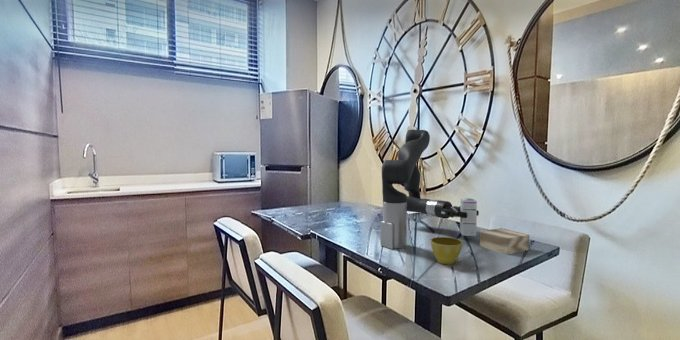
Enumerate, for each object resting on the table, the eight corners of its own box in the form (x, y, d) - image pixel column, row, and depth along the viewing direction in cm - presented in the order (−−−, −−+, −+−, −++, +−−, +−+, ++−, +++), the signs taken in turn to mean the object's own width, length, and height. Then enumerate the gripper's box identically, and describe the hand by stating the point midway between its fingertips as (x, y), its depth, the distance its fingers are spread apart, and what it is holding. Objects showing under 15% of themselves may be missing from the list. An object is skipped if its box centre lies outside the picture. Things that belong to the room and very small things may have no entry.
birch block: (507, 255, 124) (507, 238, 124) (479, 246, 135) (480, 231, 134) (528, 250, 130) (529, 234, 129) (500, 242, 140) (501, 228, 140)
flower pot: (464, 268, 110) (464, 245, 110) (431, 266, 112) (431, 244, 112) (459, 258, 120) (459, 237, 120) (429, 256, 122) (429, 236, 121)
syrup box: (476, 236, 140) (477, 200, 139) (461, 235, 141) (462, 199, 140) (474, 233, 146) (475, 198, 145) (459, 232, 147) (460, 198, 146)
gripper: (429, 201, 149) (463, 206, 137) (448, 198, 158) (482, 203, 146) (428, 219, 150) (462, 225, 137) (448, 215, 159) (481, 221, 146)
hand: (472, 214), depth 141 cm, fingers closed on syrup box, 8 cm apart
